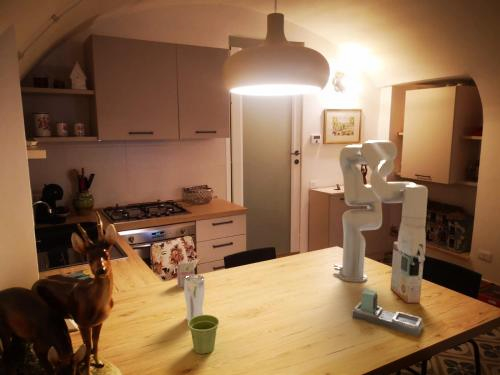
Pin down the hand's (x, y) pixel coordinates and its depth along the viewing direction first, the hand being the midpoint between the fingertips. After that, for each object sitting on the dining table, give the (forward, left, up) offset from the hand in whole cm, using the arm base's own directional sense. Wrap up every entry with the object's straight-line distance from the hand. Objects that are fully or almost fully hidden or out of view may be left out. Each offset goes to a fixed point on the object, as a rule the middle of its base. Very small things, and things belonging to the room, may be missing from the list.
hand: (409, 272), depth 129 cm
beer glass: (-61, -43, -18) cm, 77 cm away
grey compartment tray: (-5, -6, -18) cm, 19 cm away
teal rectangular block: (-12, -6, -15) cm, 20 cm away
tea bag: (-84, -24, -18) cm, 89 cm away
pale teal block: (0, 0, -1) cm, 1 cm away
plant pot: (-46, -55, -18) cm, 74 cm away
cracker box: (-5, +21, -18) cm, 28 cm away
